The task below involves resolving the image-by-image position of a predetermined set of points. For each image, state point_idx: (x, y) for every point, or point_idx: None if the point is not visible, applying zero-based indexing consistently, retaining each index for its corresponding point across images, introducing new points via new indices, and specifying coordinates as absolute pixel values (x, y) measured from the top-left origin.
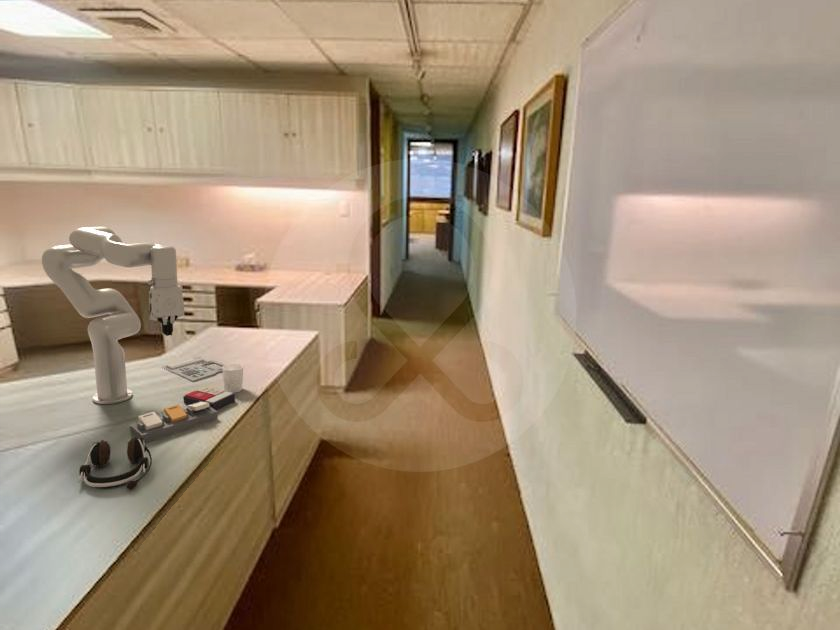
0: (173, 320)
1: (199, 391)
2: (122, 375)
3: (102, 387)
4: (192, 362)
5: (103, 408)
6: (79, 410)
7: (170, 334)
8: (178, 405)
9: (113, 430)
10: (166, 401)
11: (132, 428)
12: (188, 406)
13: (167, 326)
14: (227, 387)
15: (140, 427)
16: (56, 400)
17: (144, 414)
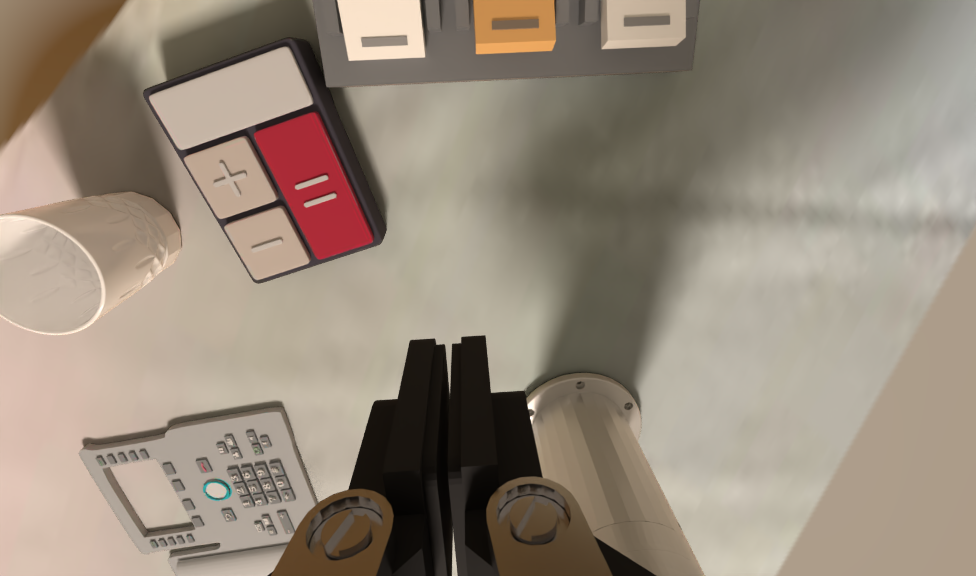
0: (301, 570)
1: (300, 241)
2: (574, 462)
3: (637, 442)
4: (227, 560)
5: (637, 357)
6: (697, 384)
7: (435, 346)
8: (481, 31)
9: (701, 150)
10: (439, 287)
11: (692, 39)
12: (424, 42)
13: (488, 434)
14: (157, 223)
15: None
16: (707, 488)
17: (657, 36)
